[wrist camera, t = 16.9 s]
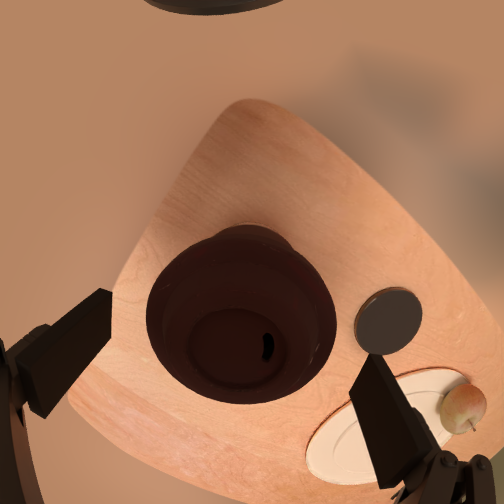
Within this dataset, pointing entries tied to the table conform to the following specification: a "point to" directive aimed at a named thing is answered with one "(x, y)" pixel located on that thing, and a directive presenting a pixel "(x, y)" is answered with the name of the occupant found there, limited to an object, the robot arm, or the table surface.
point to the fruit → (462, 409)
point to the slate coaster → (388, 321)
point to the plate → (351, 438)
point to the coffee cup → (241, 317)
